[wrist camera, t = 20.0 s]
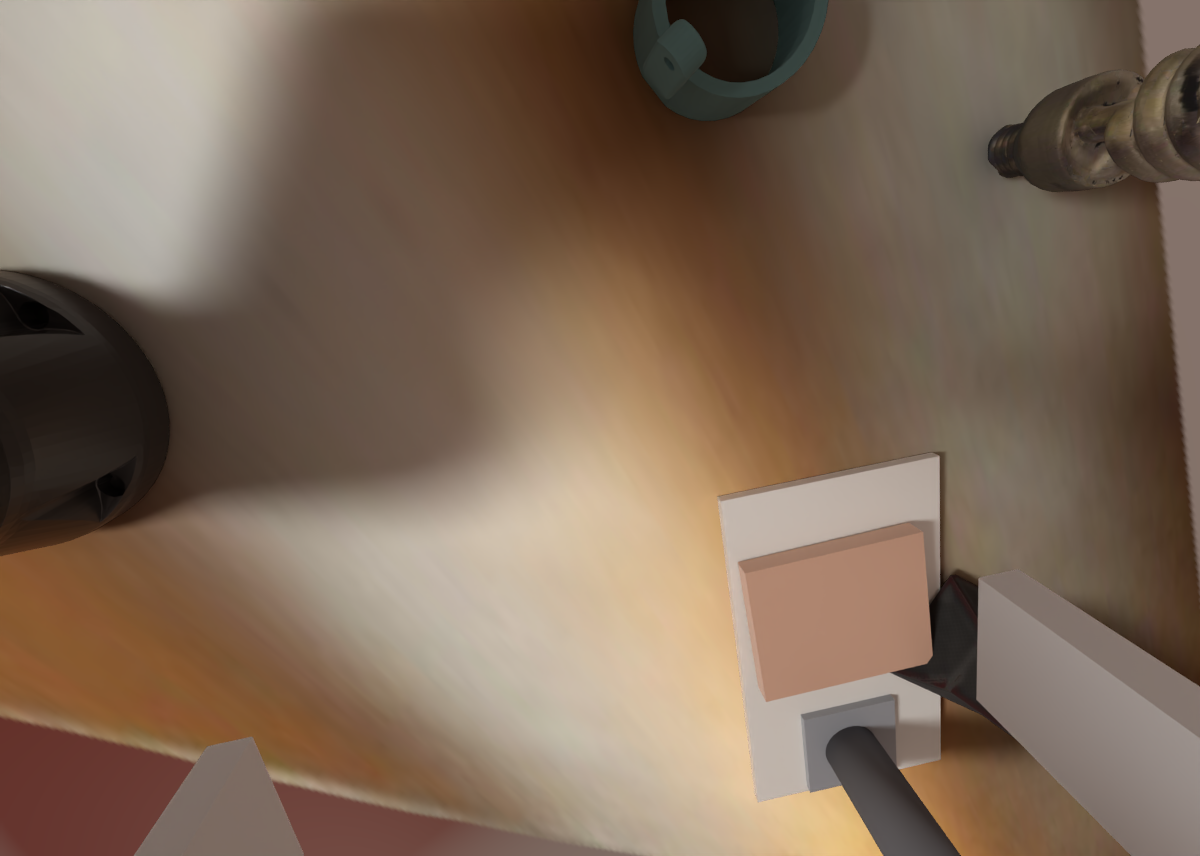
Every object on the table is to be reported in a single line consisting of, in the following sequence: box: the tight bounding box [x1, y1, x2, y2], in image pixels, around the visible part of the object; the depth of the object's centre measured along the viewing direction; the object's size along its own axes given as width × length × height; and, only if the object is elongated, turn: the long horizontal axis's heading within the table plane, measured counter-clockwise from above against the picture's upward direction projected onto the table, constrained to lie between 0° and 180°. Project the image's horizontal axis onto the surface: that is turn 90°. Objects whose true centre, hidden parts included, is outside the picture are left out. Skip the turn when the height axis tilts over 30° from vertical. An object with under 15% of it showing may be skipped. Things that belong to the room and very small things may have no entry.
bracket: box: [633, 0, 828, 121], centre depth 27 cm, size 9×9×9 cm
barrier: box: [890, 575, 1013, 737], centre depth 41 cm, size 24×9×10 cm, turn 60°
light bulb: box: [988, 45, 1200, 192], centre depth 28 cm, size 6×6×15 cm
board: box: [717, 452, 941, 802], centre depth 43 cm, size 15×26×1 cm, turn 10°
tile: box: [738, 523, 933, 702], centre depth 40 cm, size 12×2×10 cm
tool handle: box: [826, 726, 961, 856], centre depth 39 cm, size 4×4×12 cm
